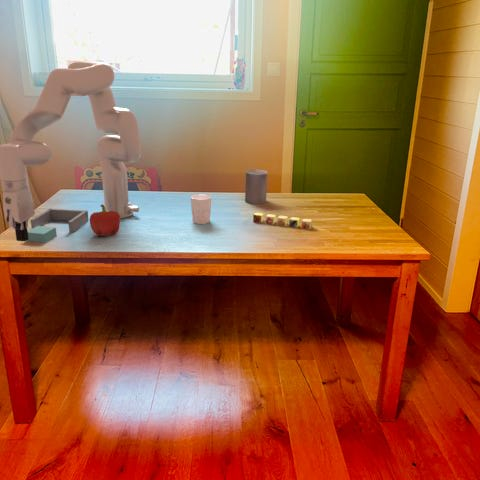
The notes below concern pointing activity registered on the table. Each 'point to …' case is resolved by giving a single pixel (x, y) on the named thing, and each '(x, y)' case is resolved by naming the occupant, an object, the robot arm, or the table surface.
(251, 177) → the pillar candle
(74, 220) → the box
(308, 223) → the row of toy blocks
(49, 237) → the teal square block
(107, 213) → the vegetable
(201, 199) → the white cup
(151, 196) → the table surface
